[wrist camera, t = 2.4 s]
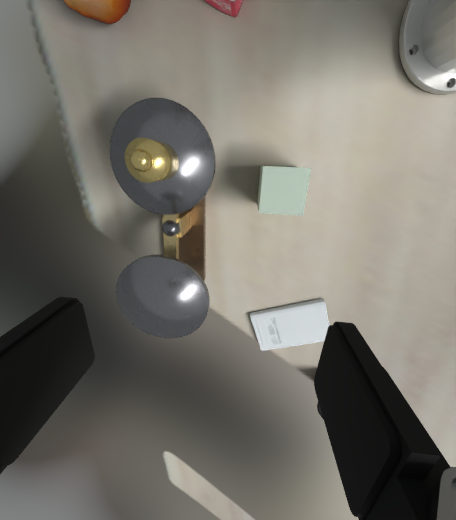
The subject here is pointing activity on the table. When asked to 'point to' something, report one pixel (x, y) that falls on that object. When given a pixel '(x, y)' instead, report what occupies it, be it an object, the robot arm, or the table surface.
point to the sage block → (283, 190)
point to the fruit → (100, 9)
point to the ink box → (227, 6)
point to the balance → (165, 213)
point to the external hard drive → (291, 325)
